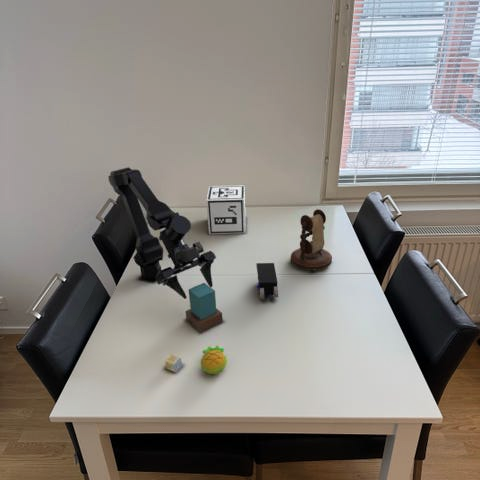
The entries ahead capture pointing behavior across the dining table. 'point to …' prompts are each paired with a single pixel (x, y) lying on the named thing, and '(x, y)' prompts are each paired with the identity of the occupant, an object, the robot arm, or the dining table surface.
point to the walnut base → (204, 320)
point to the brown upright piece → (312, 244)
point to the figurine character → (267, 280)
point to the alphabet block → (173, 363)
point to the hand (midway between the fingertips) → (198, 292)
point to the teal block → (202, 301)
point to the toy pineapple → (213, 360)
